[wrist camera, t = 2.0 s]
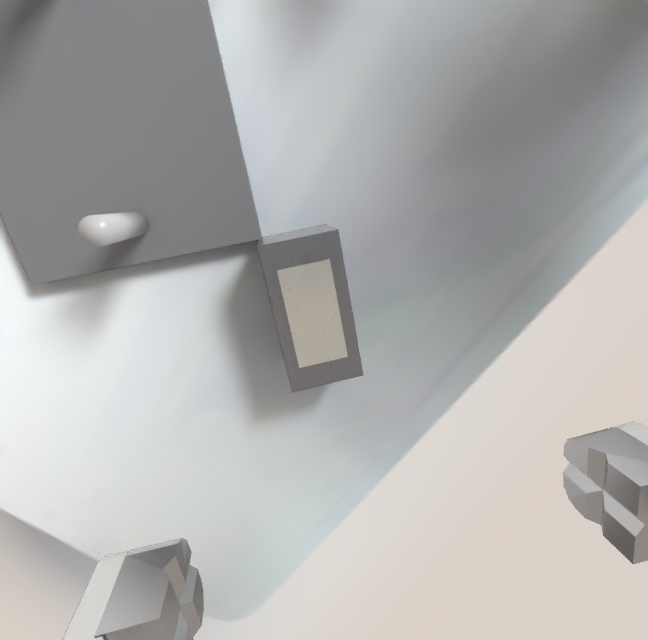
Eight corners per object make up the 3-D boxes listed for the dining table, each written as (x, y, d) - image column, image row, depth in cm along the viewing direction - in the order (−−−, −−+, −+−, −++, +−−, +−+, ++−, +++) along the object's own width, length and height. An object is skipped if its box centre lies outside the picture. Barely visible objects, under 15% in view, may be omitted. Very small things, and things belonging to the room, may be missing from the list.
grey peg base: (187, -90, 20) (147, -236, 13) (262, 237, 26) (260, 250, 19) (-99, -53, 19) (-300, -193, 12) (41, 281, 24) (-45, 312, 18)
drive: (324, 224, 26) (338, 229, 21) (347, 346, 29) (363, 375, 24) (258, 238, 26) (257, 246, 21) (287, 360, 29) (292, 392, 24)
